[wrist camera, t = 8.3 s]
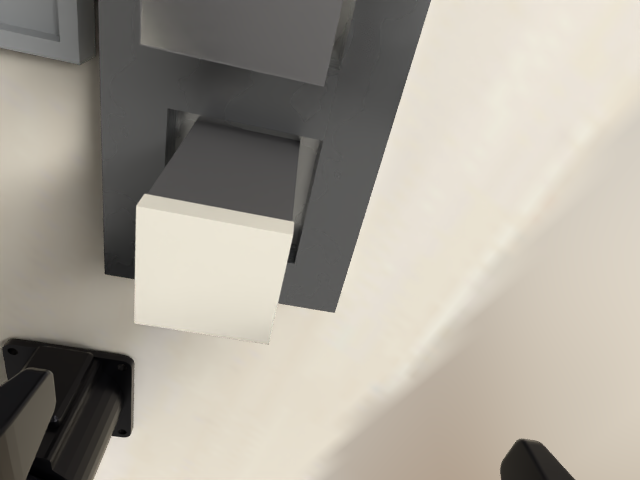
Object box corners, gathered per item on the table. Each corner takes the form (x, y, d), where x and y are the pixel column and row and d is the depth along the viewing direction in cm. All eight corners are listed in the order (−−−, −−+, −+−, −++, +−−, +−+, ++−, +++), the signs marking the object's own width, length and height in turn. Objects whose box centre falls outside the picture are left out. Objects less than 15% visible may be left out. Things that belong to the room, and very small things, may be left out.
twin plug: (283, 228, 21) (268, 344, 15) (188, 210, 20) (134, 323, 15) (301, 140, 19) (292, 235, 13) (195, 117, 18) (136, 206, 12)
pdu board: (333, 285, 23) (334, 312, 22) (121, 248, 22) (104, 274, 20) (477, -202, 14) (498, -221, 12) (120, -310, 13) (90, -348, 11)
